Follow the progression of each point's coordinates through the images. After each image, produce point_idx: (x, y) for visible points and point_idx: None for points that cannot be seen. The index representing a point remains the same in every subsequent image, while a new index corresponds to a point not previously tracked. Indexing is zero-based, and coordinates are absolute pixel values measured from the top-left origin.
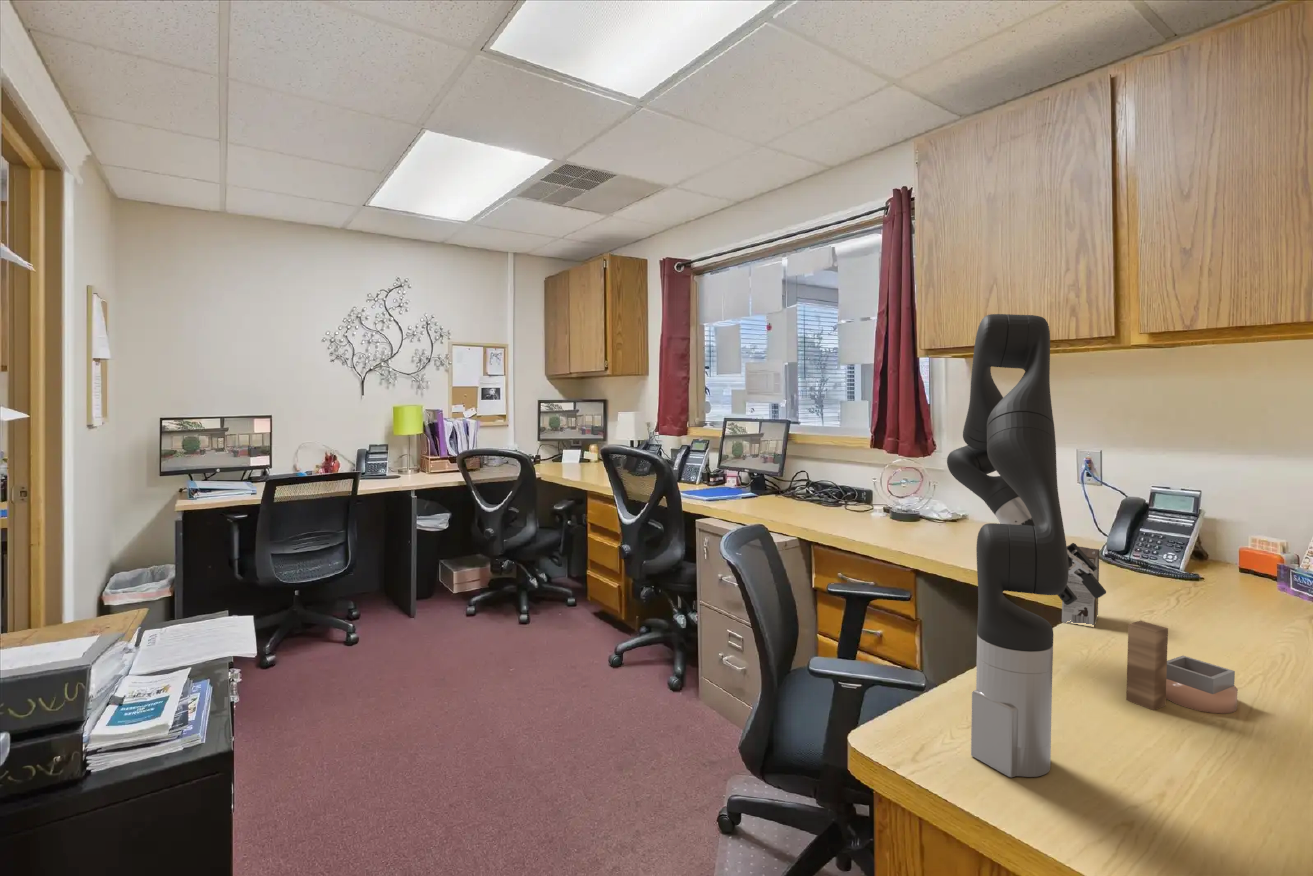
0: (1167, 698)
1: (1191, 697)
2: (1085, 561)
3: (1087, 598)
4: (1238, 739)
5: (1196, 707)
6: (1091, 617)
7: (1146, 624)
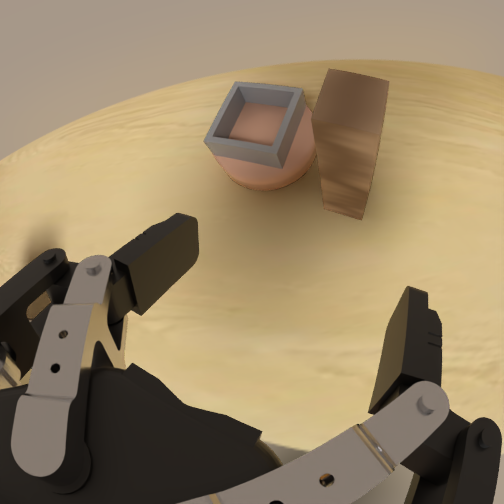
0: (305, 171)
1: None
2: (30, 295)
3: None
4: None
5: None
6: None
7: (340, 101)
